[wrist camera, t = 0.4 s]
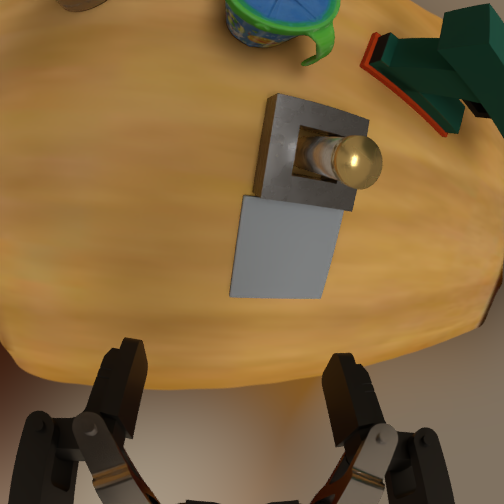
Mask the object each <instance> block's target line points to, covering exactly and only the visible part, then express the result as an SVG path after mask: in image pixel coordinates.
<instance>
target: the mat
mask: <svg viewBox="0 0 504 504" xmlns="http://www.w3.org/2000/svg"><path fill="white" fill-rule="evenodd" d="M343 212H344V210H339V209H333V208H326V207H320V206H313V205H306V204H299V203H291V202H284V201H276V200H268V199H261V198H259V197H257V196H248V195H243V201H242V208H241V214H240V221H239V228H238V235H237V242H236V249H235V256H234V264H233V271H232V278H231V286H230V293H229V296H230V297H239V298H289V299H321V296H322V292H323V289H324V286H325V282H326V279H327V275H328V271H329V268H330V264H331V260H332V257H333V253H334V249H335V245H336V241H337V237H338V233H339V229H340V225H341V220H342V216H343Z"/></svg>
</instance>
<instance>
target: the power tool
mask: <svg viewBox="0 0 504 504" xmlns="http://www.w3.org/2000/svg"><path fill="white" fill-rule="evenodd" d="M360 67H361V68H363V69H364V70H366V71H367V72H368V73H370V74H371V75H372V76H374V77H375V78H376V79H378V80H379V81H380V82H382V83H383V84H384V85H386V86H387V87H388V88H389V89H391V90H392V91H393V92H394V93H396V94H397V95H398V96H399V97H400V98H402V99H403V100H404V101H405V102H406V103H407V104H409V105H410V106H411V107H412V108H413V109H414V110H415V111H416V112H417V113H419V114H420V115H421V116H422V117H423V118H424V119H425V120H426V121H427V122H428V123H429V124H430V125H431V126H432V127H433V128H434V129H435V130H436V131H437V132H438V133H439V134H440V135H441V136H442V137H447V135H448V133H454V134H458V133H459V129H460V126H461V122H462V118H463V114H464V110H465V106H464V105H463V104H462V102H461V101H460V100H459V99H462V100H463V101H464V103H465V104H466V105H467V106H468V108H469V109H470V110H471V111H472V113H473V114H474V115H475V117H482V118H490V119H492V120H493V122H494V123H495V125H496V126H497V128H498V130H499V131H500V133H501V135H502V136H503V138H504V23H503V21H502V20H501V18H500V17H499V16H498V14H497V13H496V12H495V10H494V9H493V8H492V6H491V5H490V3H489V4H482V5H477V6H472V7H467V8H462V9H458V10H453V11H450V12H445V13H444V18H443V24H442V29H441V34H440V38H406V39H398V38H397V37H396V36H395V35H393V34H392V33H391V32H390V33H387V34H385V35H382V36H381V35H380V34H378V33H377V32H376V33H373V34H372V36H371V38H370V41H369V44H368V46H367V49H366V51H365V54H364V56H363V59H362V61H361V64H360Z"/></svg>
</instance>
